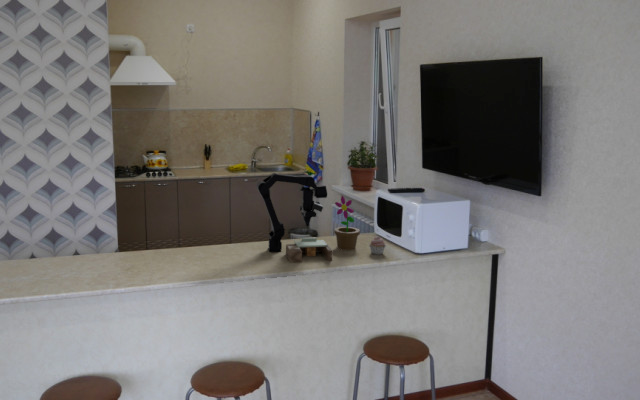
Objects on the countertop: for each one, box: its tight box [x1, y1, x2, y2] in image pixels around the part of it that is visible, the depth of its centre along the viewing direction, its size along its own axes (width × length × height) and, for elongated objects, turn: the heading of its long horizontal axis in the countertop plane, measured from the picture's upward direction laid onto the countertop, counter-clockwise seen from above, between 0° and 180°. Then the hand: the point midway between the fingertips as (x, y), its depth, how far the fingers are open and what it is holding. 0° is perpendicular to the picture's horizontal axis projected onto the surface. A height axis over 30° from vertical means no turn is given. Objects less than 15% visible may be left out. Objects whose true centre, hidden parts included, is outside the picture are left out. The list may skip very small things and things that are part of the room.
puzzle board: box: [285, 241, 333, 263], centre depth 311 cm, size 22×18×6 cm
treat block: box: [305, 247, 316, 257], centre depth 314 cm, size 4×4×5 cm
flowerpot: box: [333, 195, 361, 251], centre depth 327 cm, size 14×14×30 cm
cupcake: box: [368, 235, 387, 256], centre depth 320 cm, size 9×9×10 cm
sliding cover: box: [293, 236, 328, 247], centre depth 313 cm, size 16×10×2 cm, turn 103°
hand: (307, 226), depth 322 cm, fingers closed
